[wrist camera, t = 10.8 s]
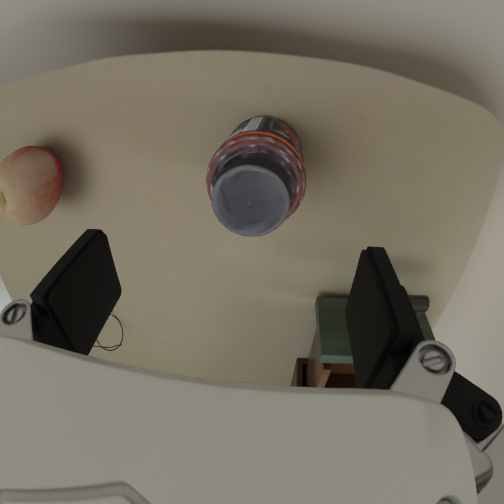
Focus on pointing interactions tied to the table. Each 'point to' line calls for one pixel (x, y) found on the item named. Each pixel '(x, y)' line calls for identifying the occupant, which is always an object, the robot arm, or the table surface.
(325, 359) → the drawer
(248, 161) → the supplement bottle
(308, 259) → the table surface
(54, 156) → the fruit
